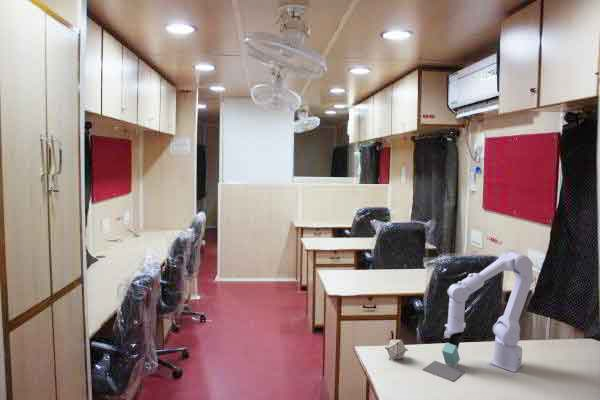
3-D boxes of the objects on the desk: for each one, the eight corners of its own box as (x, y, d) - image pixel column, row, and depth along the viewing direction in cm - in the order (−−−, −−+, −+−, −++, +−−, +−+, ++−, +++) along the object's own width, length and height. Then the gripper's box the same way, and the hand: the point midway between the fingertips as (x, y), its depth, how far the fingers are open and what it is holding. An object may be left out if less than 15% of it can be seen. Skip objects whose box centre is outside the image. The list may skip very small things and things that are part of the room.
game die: (397, 365, 181) (411, 344, 182) (400, 368, 172) (414, 345, 174) (378, 352, 182) (392, 330, 184) (380, 353, 174) (394, 331, 176)
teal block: (459, 359, 175) (456, 345, 171) (455, 367, 172) (452, 353, 169) (449, 356, 177) (446, 342, 174) (445, 364, 175) (441, 350, 171)
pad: (464, 372, 169) (465, 371, 169) (453, 381, 162) (453, 380, 162) (434, 361, 177) (434, 360, 177) (422, 370, 170) (422, 369, 170)
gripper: (454, 308, 181) (452, 341, 183) (437, 317, 171) (435, 352, 172) (471, 313, 176) (469, 347, 178) (455, 323, 166) (453, 358, 167)
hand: (453, 350), depth 175 cm, fingers closed
